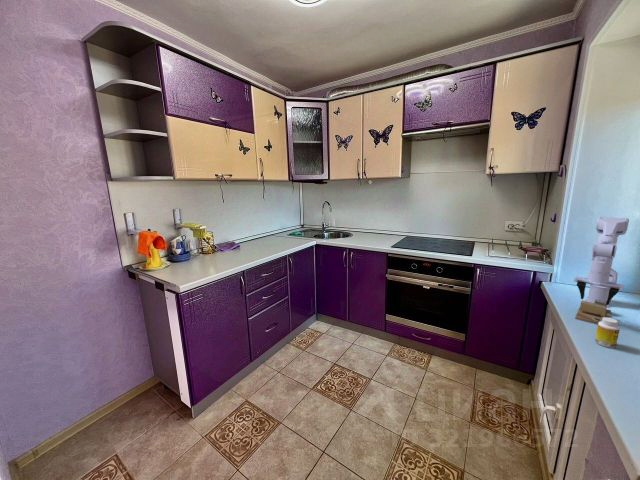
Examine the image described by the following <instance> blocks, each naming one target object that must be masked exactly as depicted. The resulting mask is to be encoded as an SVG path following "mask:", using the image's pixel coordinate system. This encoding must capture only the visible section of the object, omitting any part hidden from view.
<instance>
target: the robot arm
mask: <svg viewBox="0 0 640 480" xmlns="http://www.w3.org/2000/svg"><path fill="white" fill-rule="evenodd" d="M629 222H630V219H629V217H626V218H625V217H607V216H604V217H602V216H599V217H597V220H596V225H595V230H596V232H597V233H598V234H599V235H598V237H597V239H596V243H594V244H593V247H592V250H591V251H592V252H591V256H592V257H591V265H590V269H588V270H589V271H588V275H587V277H583V276H574V279H573V282H574V283H575V282H576V286H577V288H578V291H579V294H580V299H581V300H584V298H585V291H586V287H587V286H586V285H589V291H588V295H587V298H586V300H585V301H587V302H591V303H595V299H598V300H603V301H607V302H606V305H607V308H609V307H610V303H611V301H612V299H613V298H614V297H615V296H616V295H617V294H618V293H619V291H621V292H623V291H624V288H625V285H624V284H620V283H617V282H618V275H619V274H618V271H616V270H615V269H613V268H612V265H613V261H614V260H613V259H614V258H615V257H616V252H617V249H618V248H617V243H618V238H619V236H623V235H626V233H627V231H628V227H629Z"/></svg>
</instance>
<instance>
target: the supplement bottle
mask: <svg viewBox="0 0 640 480" xmlns="http://www.w3.org/2000/svg"><path fill="white" fill-rule="evenodd" d="M618 322H619V321H618V320H617V319H615V318H612V317H610V318H607V317H604V318H602V321H601V322H599V323H598V325H597V328H596V333H595V339H594V341H595V343H597V345H600V346H602V347H605V348H609V349H610V348H612V349H613V348H615V347H617V342H618V339H619V335H620V331H621V329H620V328H621V327H620V326H619V325H618Z"/></svg>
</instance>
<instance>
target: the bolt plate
mask: <svg viewBox="0 0 640 480" xmlns="http://www.w3.org/2000/svg"><path fill="white" fill-rule="evenodd" d="M611 313H612V310H611V309H608V308H607V309H606V313H605V317H607V318H611V317H610V316H611ZM574 319H575V320H579V321H581V322H582V321H583V322H587V323H589V324H593V323H594V325H597V326H598V323H599V322H600V319H601V315H597V314H594V313H590V312H586V311H582V310H580V307H579V308H578V311H577V313H576V315H575V317H574Z"/></svg>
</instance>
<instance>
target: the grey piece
mask: <svg viewBox="0 0 640 480" xmlns="http://www.w3.org/2000/svg"><path fill="white" fill-rule="evenodd" d="M606 302H607V301H603V300H598V299H595V303H594V304H598V305H602V306H607V305H606ZM606 309H608V307H606ZM605 313H606V312H605ZM604 317H605V316H603V315H601V319H600V322H601V321H602V318H604Z"/></svg>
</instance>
